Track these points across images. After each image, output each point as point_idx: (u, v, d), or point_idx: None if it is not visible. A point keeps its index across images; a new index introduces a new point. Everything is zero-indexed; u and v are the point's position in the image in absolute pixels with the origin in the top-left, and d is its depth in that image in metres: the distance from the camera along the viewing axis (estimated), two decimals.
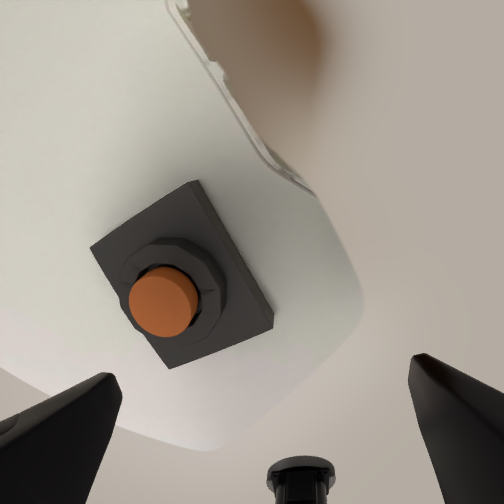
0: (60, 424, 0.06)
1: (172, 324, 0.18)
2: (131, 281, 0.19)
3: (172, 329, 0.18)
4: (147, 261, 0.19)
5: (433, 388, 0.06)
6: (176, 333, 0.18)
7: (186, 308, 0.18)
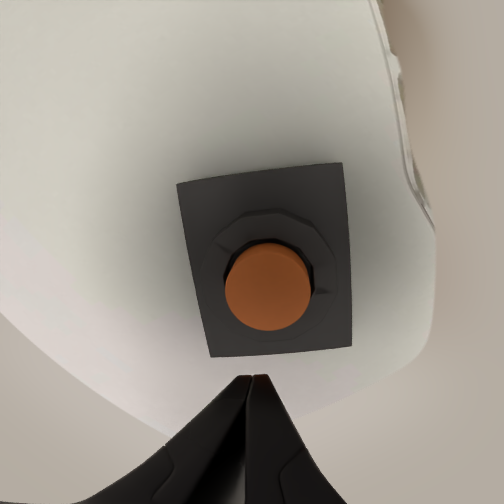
0: (228, 447, 0.05)
1: (274, 317, 0.15)
2: (233, 247, 0.16)
3: (270, 322, 0.15)
4: (268, 232, 0.15)
5: None
6: (273, 328, 0.15)
7: (303, 304, 0.15)
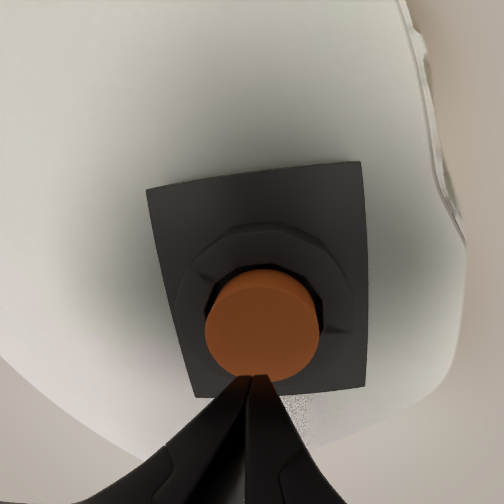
0: (228, 447, 0.05)
1: (270, 367, 0.11)
2: (216, 275, 0.12)
3: (266, 373, 0.11)
4: (262, 255, 0.11)
5: None
6: None
7: (308, 352, 0.11)
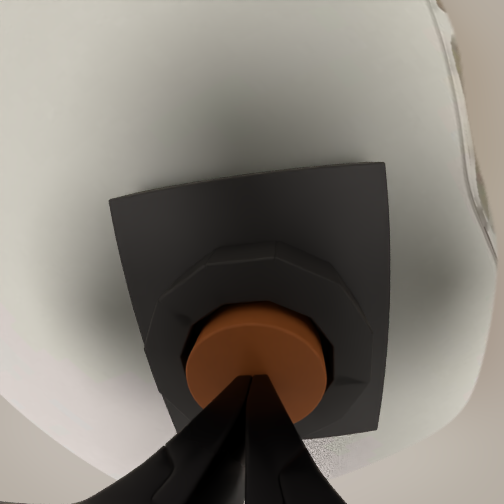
0: (228, 447, 0.05)
1: None
2: (193, 315, 0.09)
3: None
4: (254, 290, 0.08)
5: None
6: None
7: (312, 399, 0.08)
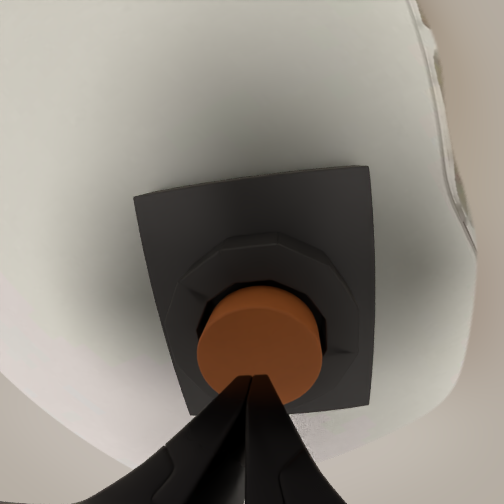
0: (228, 447, 0.05)
1: None
2: (209, 293, 0.11)
3: None
4: (260, 271, 0.10)
5: None
6: None
7: (310, 377, 0.10)
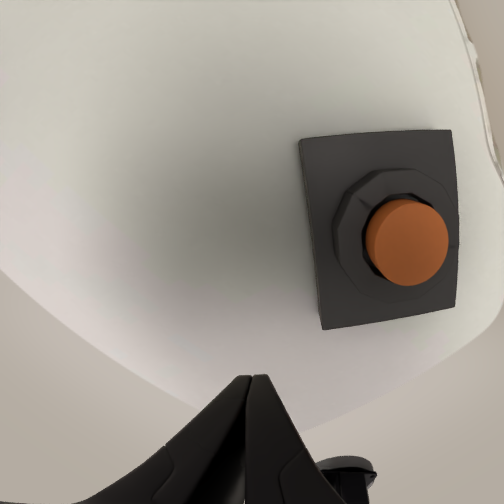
0: (228, 447, 0.05)
1: (417, 270, 0.14)
2: (373, 202, 0.14)
3: (413, 277, 0.14)
4: (405, 187, 0.14)
5: None
6: (414, 283, 0.14)
7: (442, 256, 0.13)
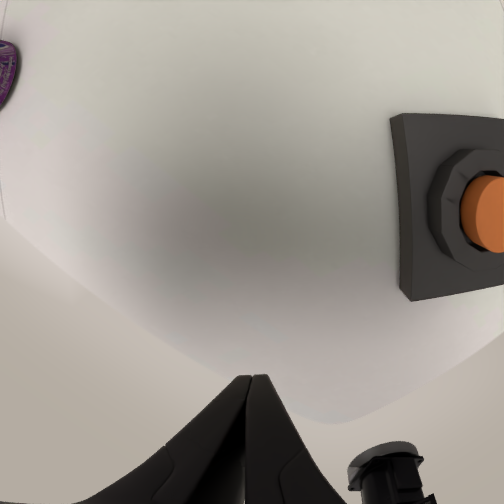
0: (228, 447, 0.05)
1: None
2: (469, 175, 0.13)
3: (502, 244, 0.13)
4: (491, 164, 0.13)
5: None
6: (502, 250, 0.13)
7: None
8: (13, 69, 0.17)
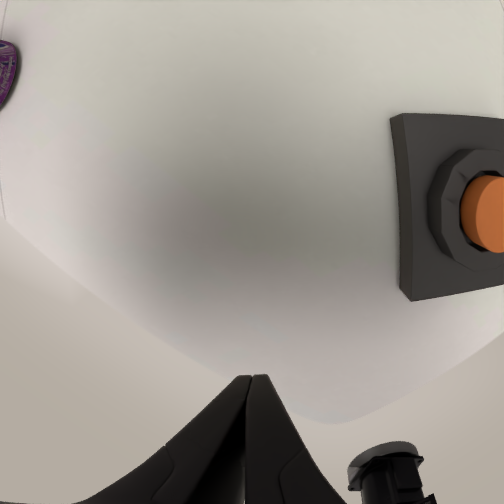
0: (228, 447, 0.05)
1: None
2: (469, 175, 0.13)
3: (502, 244, 0.13)
4: (491, 164, 0.13)
5: None
6: (502, 250, 0.13)
7: None
8: (13, 69, 0.17)
